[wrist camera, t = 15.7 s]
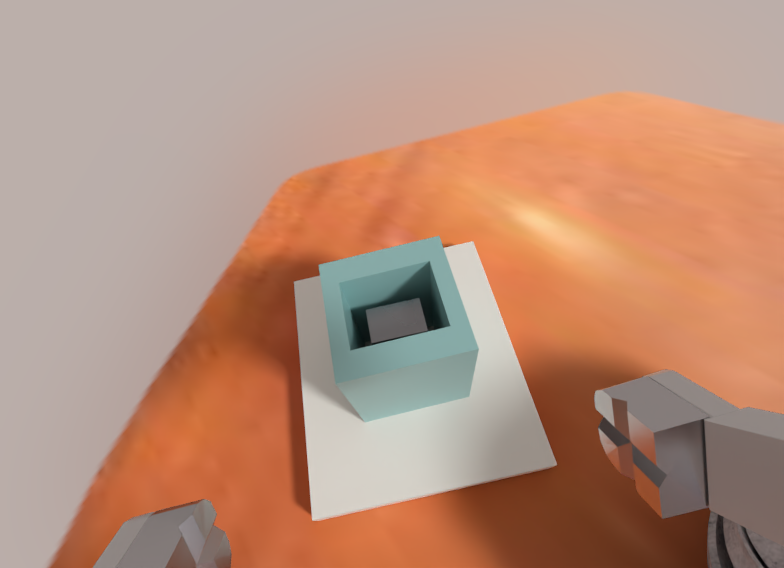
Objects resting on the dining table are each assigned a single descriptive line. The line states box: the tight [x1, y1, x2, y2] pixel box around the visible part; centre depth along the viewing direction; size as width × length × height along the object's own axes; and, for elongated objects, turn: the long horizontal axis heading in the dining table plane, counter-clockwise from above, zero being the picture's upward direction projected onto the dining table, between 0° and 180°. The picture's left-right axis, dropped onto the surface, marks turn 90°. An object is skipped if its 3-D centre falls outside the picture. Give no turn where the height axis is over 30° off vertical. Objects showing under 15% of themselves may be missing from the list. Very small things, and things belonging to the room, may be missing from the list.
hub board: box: [294, 241, 557, 521], centre depth 27 cm, size 16×14×2 cm
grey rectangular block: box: [366, 298, 428, 345], centre depth 24 cm, size 2×3×6 cm, turn 101°
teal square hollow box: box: [319, 236, 479, 422], centre depth 23 cm, size 7×7×8 cm
